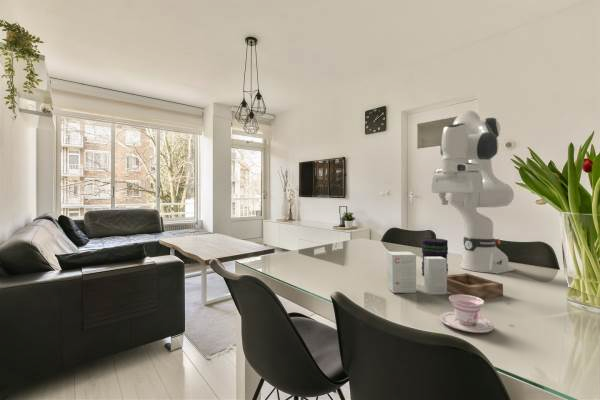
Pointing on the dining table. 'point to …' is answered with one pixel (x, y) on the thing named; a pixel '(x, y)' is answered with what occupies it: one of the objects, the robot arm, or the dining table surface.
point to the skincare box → (435, 275)
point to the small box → (402, 272)
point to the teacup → (466, 314)
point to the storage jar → (434, 249)
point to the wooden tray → (473, 286)
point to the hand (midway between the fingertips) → (454, 205)
